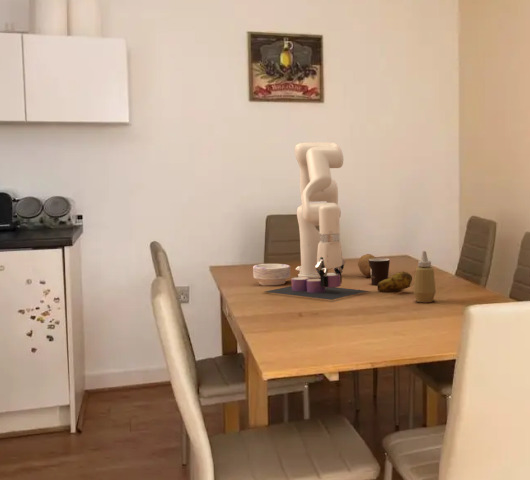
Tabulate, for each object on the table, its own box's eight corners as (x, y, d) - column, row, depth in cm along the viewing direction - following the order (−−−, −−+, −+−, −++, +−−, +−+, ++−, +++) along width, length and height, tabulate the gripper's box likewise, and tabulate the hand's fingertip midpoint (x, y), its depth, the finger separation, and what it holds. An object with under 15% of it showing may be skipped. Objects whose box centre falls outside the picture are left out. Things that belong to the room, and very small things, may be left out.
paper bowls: (298, 284, 320) (297, 264, 318) (269, 288, 309) (268, 269, 308) (275, 280, 330) (274, 262, 328) (246, 285, 319) (245, 265, 318)
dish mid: (302, 291, 298) (302, 280, 297) (315, 289, 303) (314, 277, 302) (317, 293, 294) (316, 281, 293) (329, 290, 299) (328, 279, 298)
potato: (382, 290, 303) (382, 269, 301) (414, 291, 299) (414, 270, 297) (375, 293, 295) (375, 272, 293) (408, 295, 291) (407, 273, 289)
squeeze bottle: (421, 298, 283) (420, 249, 279) (440, 300, 278) (440, 250, 274) (409, 302, 276) (408, 251, 272) (428, 304, 272) (427, 253, 268)
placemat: (264, 293, 300) (264, 291, 299) (302, 285, 317) (302, 283, 317) (331, 301, 280) (331, 299, 280) (368, 292, 298) (368, 290, 298)
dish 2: (317, 286, 293) (317, 274, 292) (330, 283, 299) (329, 272, 298) (332, 288, 289) (332, 276, 288) (344, 285, 295) (344, 273, 294)
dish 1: (287, 290, 302) (287, 278, 301) (300, 287, 308) (299, 276, 307) (301, 291, 298) (301, 280, 297) (314, 289, 304) (313, 277, 303)
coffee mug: (387, 285, 312) (387, 261, 310) (367, 285, 314) (366, 260, 312) (393, 281, 323) (393, 257, 321) (373, 281, 325) (373, 257, 323)
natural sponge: (369, 274, 343) (369, 252, 341) (383, 276, 337) (383, 253, 335) (354, 277, 337) (353, 254, 335) (368, 279, 331) (367, 255, 328)
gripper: (336, 235, 299) (338, 280, 303) (306, 240, 285) (308, 287, 289) (352, 236, 294) (353, 282, 299) (322, 241, 281) (323, 289, 285)
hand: (331, 284), depth 294 cm, fingers closed on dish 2, 7 cm apart
